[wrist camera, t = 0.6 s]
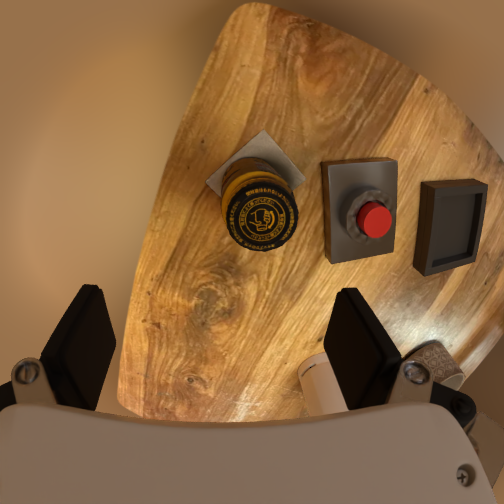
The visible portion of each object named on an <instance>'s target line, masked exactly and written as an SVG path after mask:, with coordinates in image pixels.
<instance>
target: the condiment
mask: <svg viewBox="0 0 504 504" xmlns="http://www.w3.org/2000/svg"><path fill="white" fill-rule="evenodd" d="M305 180H306V178H305V177H304V175H303V174H302V173H301V172H300V171H299V169H298V168H297V167H296V166H295V165H294V164H293V162H292V161H291V160H290V159H289V158H288V156H287V155H286V154H285V153H284V152H283V151H282V150H281V148H280V147H279V146H278V145H277V144H276V143H275V141H274V140H273V139H272V138H271V137H270V136H269V135H268V134H267V132H266V131H265V130H264V129H263V130H262V131H261V132H260V133H259V134H258V135H256V136H255V137H254V138H253V139H252V140H251V141H249V142H248V143H247V144H246V145H245V146H244V147H242V148H241V149H240V150H239V151H238V152H237V153H236V154H234V155H233V156H232V157H231V158H230V159H229V160H228V161H227V162H225V163H224V164H223V165H222V166H221V167H220V168H219V169H218V170H217V171H216V172H215V173H214V174H212V175H211V176H210V177H209V178H208V179H207V180H206V181H205V183H206V184H207V185H208V186H209V187H210V188H211V189H212V190H213V191H214V192H215V193H216V194H217V195H218V196H219V197H221V213H222V217H223V220H224V222H225V224H226V225H227V228H228V230H229V233H230V235H231V237H232V238H233V239H234V240H235V241H236V242H237V243H238V244H239V245H241V246H242V247H244V248H247V249H249V250H253V251H263V252H266V251H269V250H272V249H275V248H278V247H280V246H282V245H283V244H284V243H285V242H287V241H288V240H289V239H290V238H291V236H292V235H293V233H294V232H295V230H296V227H297V221H298V213H299V212H298V209H297V205H296V203H295V199H294V195H293V192H292V191H293V190H294V189H295V188H296V187H298V186H299V185H300V184H301V183H302V182H304V181H305Z"/></svg>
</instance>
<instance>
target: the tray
mask: <svg viewBox="0 0 504 504" xmlns="http://www.w3.org/2000/svg"><path fill="white" fill-rule="evenodd" d="M487 190H488V185H487V184H485V183H483V182H480V181H478V180H475V179H464V180H446V181H430V182H421V197H420V211H419V223H418V232H417V241H416V249H415V256H414V263H413V267H414V268H415V269H416V270H418V271H419V272H420V273H421V274H422V275H423V276H424V277H425V276H428V275H432V274H436V273H439V272H443V271H446V270H449V269H453V268H456V267H459V266H463V265H466V264H469V263H472V262H475V260H476V256H477V252H478V247H479V242H480V237H481V232H482V226H483V220H484V214H485V207H486V199H487Z"/></svg>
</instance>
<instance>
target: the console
mask: <svg viewBox="0 0 504 504" xmlns="http://www.w3.org/2000/svg"><path fill="white" fill-rule="evenodd" d="M321 166H322V180H323V196H324V217H325V251H326V257H327V259H328V260H329V262H330V263H331V264H335V263H341V262H346V261H351V260H356V259H362V258H367V257H372V256H377V255H382V254H387V253H392V252H393V250H394V240H395V227H396V211H397V177H398V163H397V160H394V159H391V158H371V159H355V160H342V161H331V162H322V163H321ZM370 202H376V203H379V204H380V205H382V206H383V207H385V208H386V209H388V210H389V212H390V214H391V217H392V223H391V226H390V228H389V230H388V231H387V233H386V234H385V235H383V236H381V237H379V238H372V237H369V236H368V235H367V234H366V233H365V232H364V231H362V230H361V229H360V227H359V226H358V222H357V217H358V213H359V211H360V209H361V208H362V207H363V206H364V205H365V204H367V203H370Z"/></svg>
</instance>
